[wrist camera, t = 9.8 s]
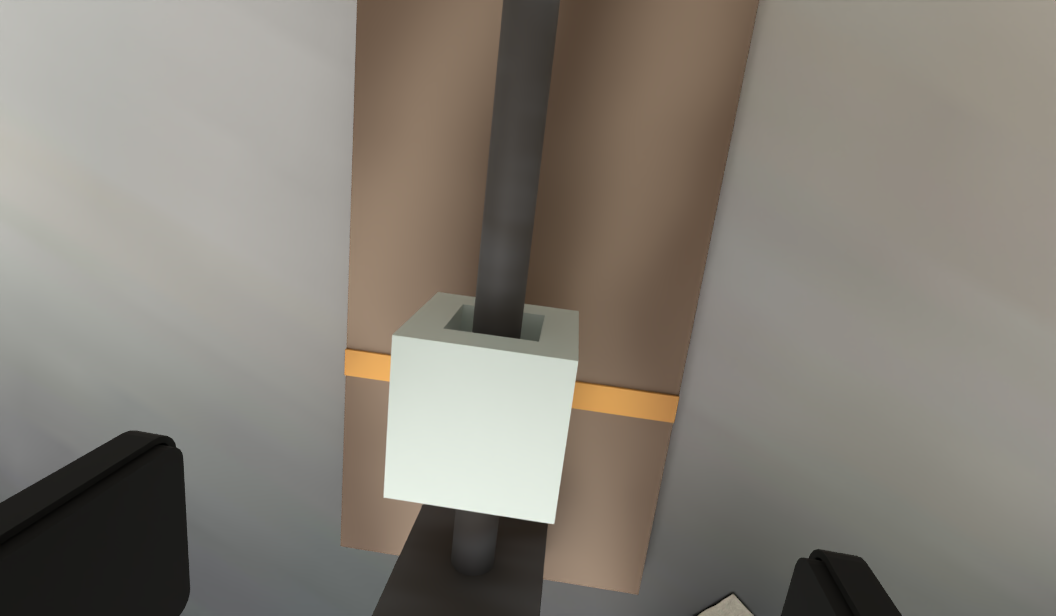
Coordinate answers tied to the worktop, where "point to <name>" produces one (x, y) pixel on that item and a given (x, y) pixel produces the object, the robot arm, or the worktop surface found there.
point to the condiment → (727, 608)
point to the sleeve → (480, 410)
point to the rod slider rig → (534, 257)
